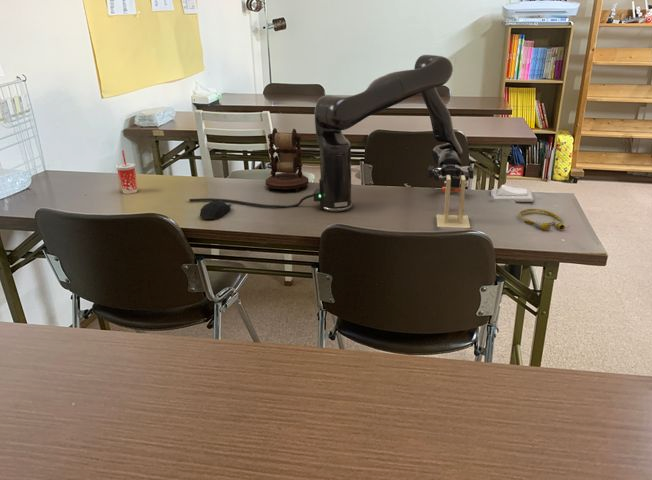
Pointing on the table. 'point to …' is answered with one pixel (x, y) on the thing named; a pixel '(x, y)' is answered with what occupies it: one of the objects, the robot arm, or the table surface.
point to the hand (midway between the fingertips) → (451, 178)
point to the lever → (453, 186)
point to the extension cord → (541, 224)
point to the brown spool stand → (285, 161)
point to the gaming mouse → (214, 210)
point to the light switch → (512, 194)
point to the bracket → (459, 219)
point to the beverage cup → (127, 176)
